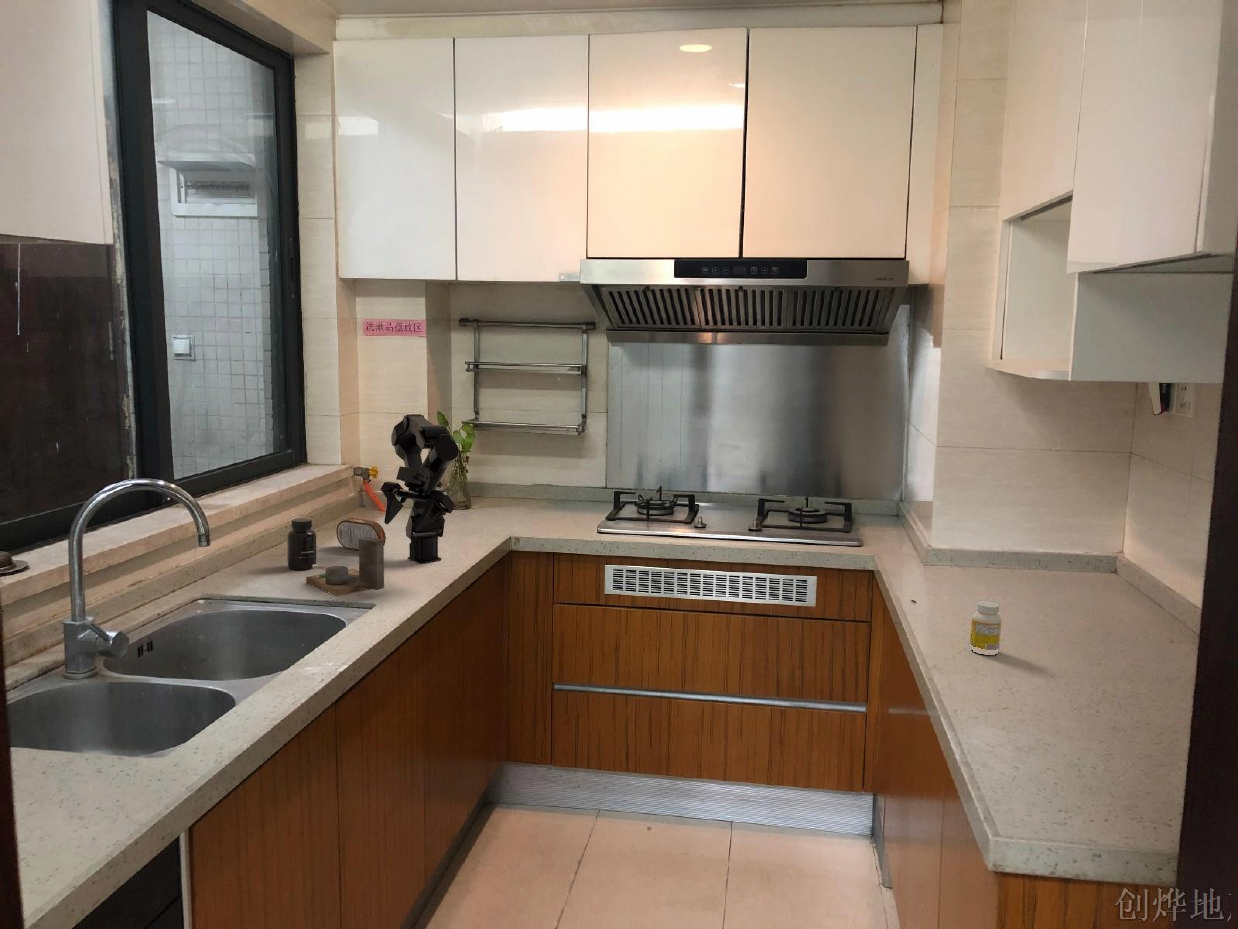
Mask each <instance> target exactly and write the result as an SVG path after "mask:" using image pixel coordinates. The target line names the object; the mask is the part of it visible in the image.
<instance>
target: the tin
mask: <svg viewBox="0 0 1238 929" xmlns="http://www.w3.org/2000/svg"><path fill="white" fill-rule="evenodd" d="M364 537H369V538H375V539H382V540H384V546H385V544H386V542H387V541H386V540H387V537H386V533H385V530H384V527H383V526H382V525H381V524H380V523H378V522H377V521H375V520H370V519H369V520H368V519H363V518H357V517H348V518H347V517H346V518H345V519H342V520H341V521H340V522H339V523H338V524H337V526H336V539H337V540H338V543H339V544H340V545H341V546H342V547H343V548H345V549H347V550H353V551H358V552H359V539H361V538H364Z"/></svg>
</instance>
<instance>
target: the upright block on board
mask: <svg viewBox="0 0 1238 929" xmlns="http://www.w3.org/2000/svg"><path fill="white" fill-rule="evenodd" d="M384 546H385V545H384V540H382V539H375V538H369V537H364V538H361V539H359V551H358V571H359V575H354V574H348V569H349V567H348V566H345V565H332V566H326V565H320V564H316V565H315V564H314V565H312V569H320V570H324V571H325V578H326V583H328V584H343V583H352V584H358V585H359V587H362V588H367V589H369V590H374V591H380V590H382V589H384V588H385V555H384V554H385V552H384V551H385V550H384V548H385V547H384Z"/></svg>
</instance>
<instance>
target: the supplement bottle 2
mask: <svg viewBox="0 0 1238 929" xmlns="http://www.w3.org/2000/svg"><path fill="white" fill-rule="evenodd" d="M999 611H1000V605H999V604H998V603H996V602H993V601H986V600H983V601H977V602H976V611H975V612H974V613H973V614H972V616H971V626H970V627H971V629H970V639H969V640H970V641H969V645H970V644H971V645H972V646H973V647H978V648H981V649H985V650H996V649H998V648H999V649H1000V645H1001V644H1000V643H1001V642H1000V641H1001V631H1002V621H1003V620H1002V617H1001V616H1000V615H999Z"/></svg>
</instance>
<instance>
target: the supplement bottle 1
mask: <svg viewBox="0 0 1238 929" xmlns="http://www.w3.org/2000/svg"><path fill="white" fill-rule="evenodd" d="M290 525H291V526H290V527H291V530H289V531H288V533H287V535H286V536H287V538H286V539H287V540H286V542H287V544H286V545H287V551H286V553H287V568H288V569H290V570H292V571H307V570H312V569H313V568H312V565H314V564H315V565H317V533H316V531H315V530H313V529H312V528H313V520H312V518H308V517H307V518H305V517H304V518H301V517H300V518H293V519H291V524H290Z"/></svg>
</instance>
